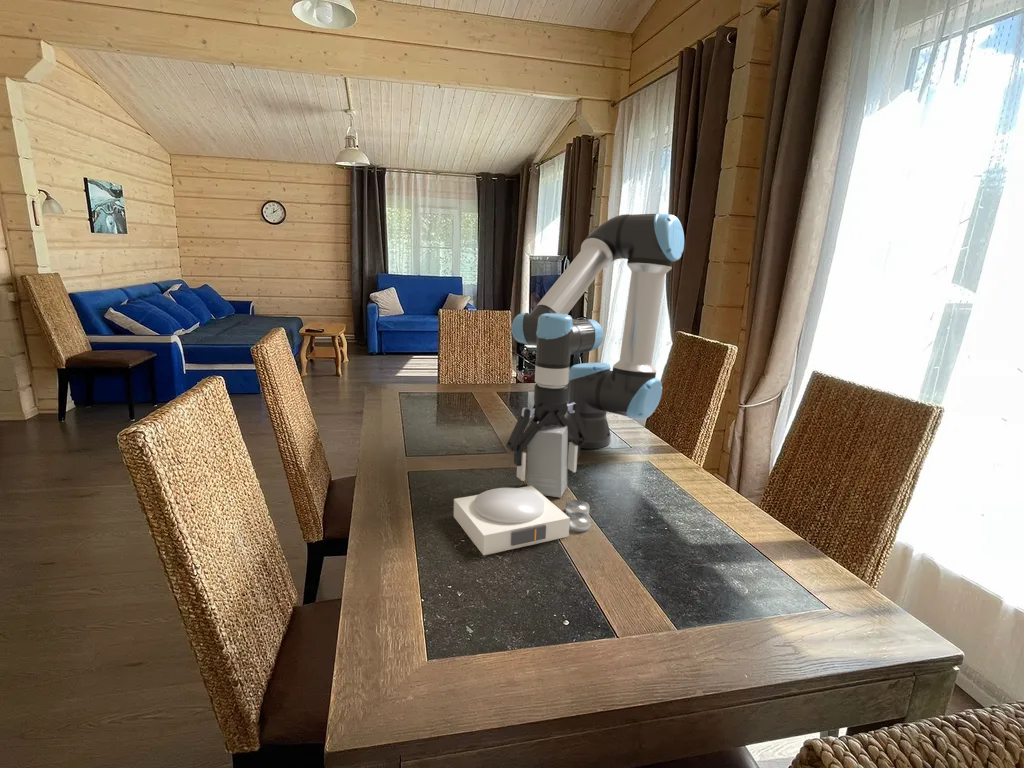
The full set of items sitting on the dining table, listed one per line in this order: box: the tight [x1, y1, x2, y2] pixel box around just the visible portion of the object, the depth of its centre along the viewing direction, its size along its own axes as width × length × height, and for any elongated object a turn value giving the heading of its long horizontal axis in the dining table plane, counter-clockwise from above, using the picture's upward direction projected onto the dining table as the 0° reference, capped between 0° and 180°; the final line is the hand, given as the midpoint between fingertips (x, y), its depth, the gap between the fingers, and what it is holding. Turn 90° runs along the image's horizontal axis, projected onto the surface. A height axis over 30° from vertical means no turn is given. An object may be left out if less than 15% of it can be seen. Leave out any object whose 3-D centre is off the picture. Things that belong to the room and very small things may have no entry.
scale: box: [453, 486, 570, 556], centre depth 109 cm, size 18×17×5 cm
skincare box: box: [526, 422, 569, 498], centre depth 124 cm, size 8×7×16 cm
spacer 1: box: [565, 499, 591, 516], centre depth 116 cm, size 5×5×2 cm
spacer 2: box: [566, 512, 592, 533], centre depth 110 cm, size 5×5×2 cm
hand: (546, 474), depth 125 cm, fingers open, 13 cm apart
